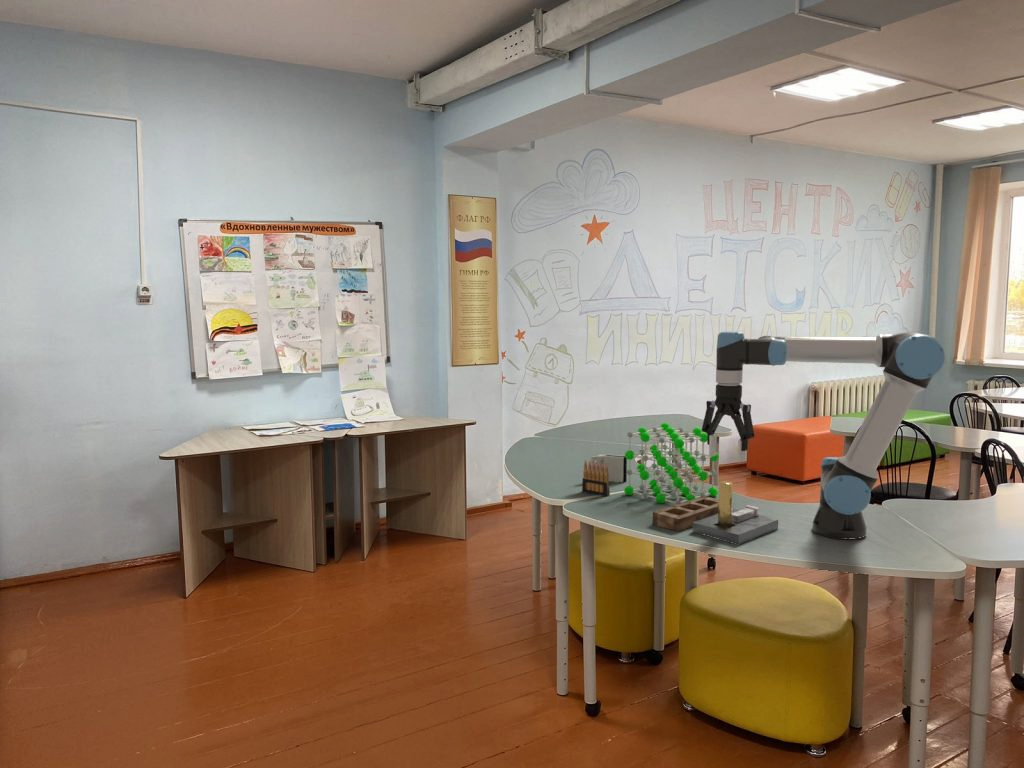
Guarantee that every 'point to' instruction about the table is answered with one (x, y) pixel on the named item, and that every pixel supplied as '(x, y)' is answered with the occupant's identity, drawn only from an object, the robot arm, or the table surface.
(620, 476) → the grey rectangular box
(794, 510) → the table surface
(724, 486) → the peg
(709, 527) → the socket housing
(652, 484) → the molecular structure model
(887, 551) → the table surface
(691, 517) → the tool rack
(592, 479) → the ammunition clip
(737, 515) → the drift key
